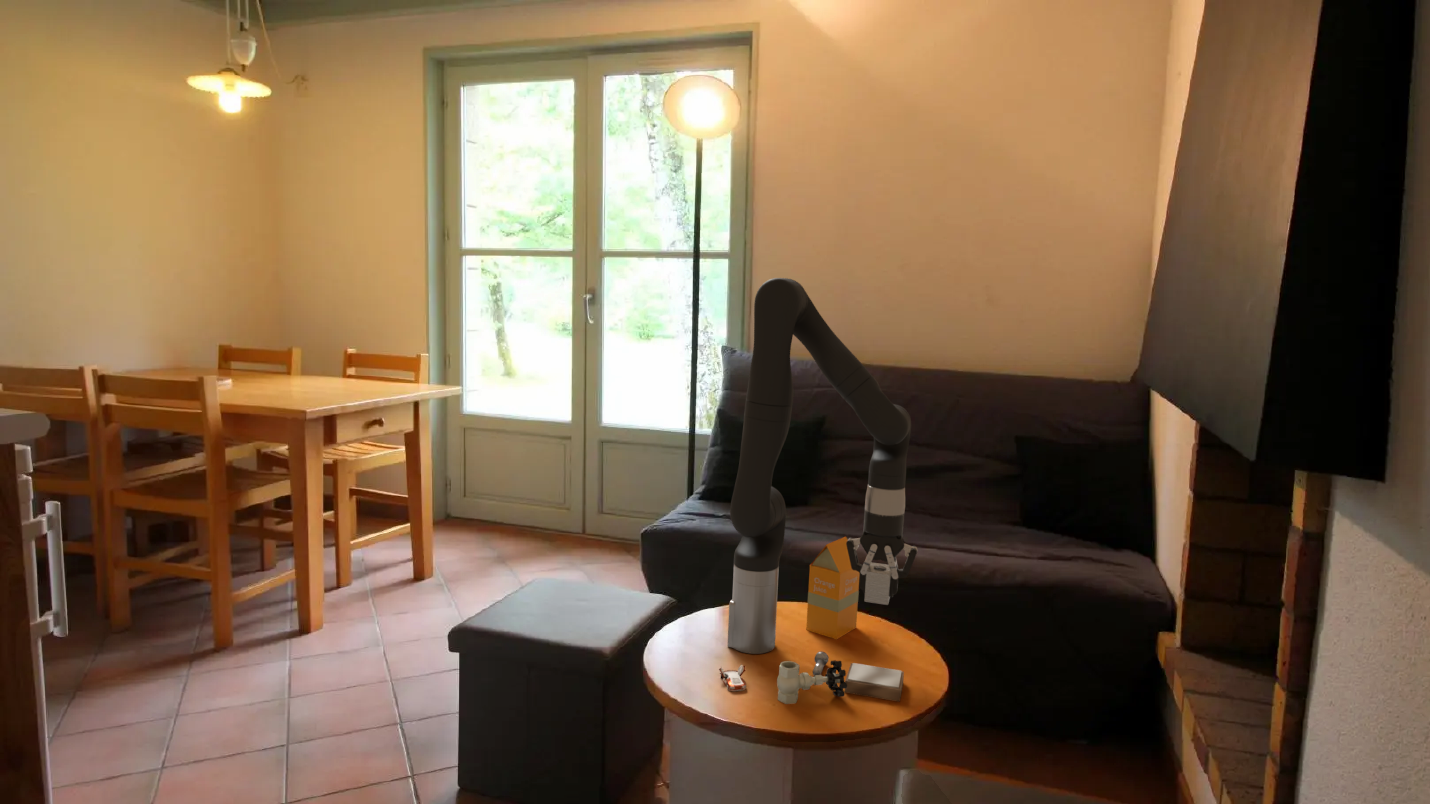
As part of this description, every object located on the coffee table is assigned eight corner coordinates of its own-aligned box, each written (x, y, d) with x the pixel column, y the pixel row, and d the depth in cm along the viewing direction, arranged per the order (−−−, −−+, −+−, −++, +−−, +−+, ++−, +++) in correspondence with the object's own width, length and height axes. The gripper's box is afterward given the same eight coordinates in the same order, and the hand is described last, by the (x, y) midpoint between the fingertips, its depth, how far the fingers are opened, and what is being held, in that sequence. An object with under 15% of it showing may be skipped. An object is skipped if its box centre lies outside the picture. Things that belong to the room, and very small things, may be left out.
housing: (864, 601, 163) (866, 570, 162) (867, 591, 169) (870, 561, 168) (888, 604, 162) (890, 573, 161) (890, 594, 168) (893, 564, 167)
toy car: (740, 673, 163) (741, 657, 162) (751, 692, 155) (752, 676, 155) (714, 674, 162) (714, 659, 161) (723, 694, 154) (724, 678, 154)
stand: (844, 692, 156) (845, 679, 156) (850, 673, 164) (851, 661, 163) (899, 701, 153) (900, 688, 153) (903, 682, 161) (904, 670, 160)
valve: (782, 709, 149) (846, 703, 152) (784, 674, 148) (848, 668, 151) (771, 692, 155) (832, 686, 158) (772, 657, 154) (834, 653, 157)
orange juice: (856, 627, 187) (862, 539, 184) (836, 639, 180) (842, 548, 177) (826, 618, 191) (831, 532, 189) (805, 629, 184) (810, 540, 182)
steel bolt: (823, 677, 162) (823, 664, 161) (809, 675, 162) (810, 662, 162) (828, 664, 167) (828, 652, 167) (815, 662, 168) (815, 650, 168)
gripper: (844, 508, 161) (838, 594, 164) (921, 518, 157) (914, 606, 160) (850, 500, 168) (844, 582, 171) (923, 508, 165) (916, 592, 167)
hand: (878, 593), depth 165 cm, fingers closed on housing, 4 cm apart
